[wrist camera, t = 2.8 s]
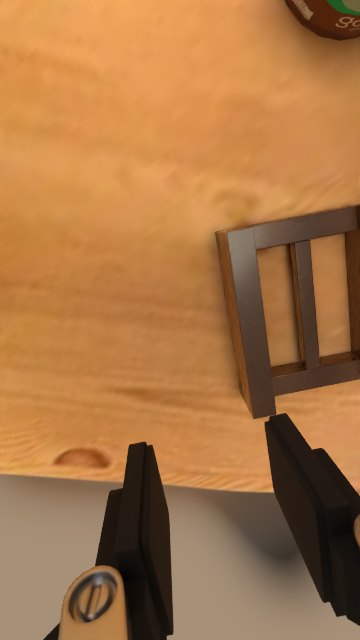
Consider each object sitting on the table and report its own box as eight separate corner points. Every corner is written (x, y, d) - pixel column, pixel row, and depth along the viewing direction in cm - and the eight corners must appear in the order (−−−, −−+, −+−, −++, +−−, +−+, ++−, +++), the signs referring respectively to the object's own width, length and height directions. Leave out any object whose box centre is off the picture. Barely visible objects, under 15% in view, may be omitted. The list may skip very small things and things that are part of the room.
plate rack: (239, 392, 30) (267, 447, 22) (215, 231, 26) (238, 232, 19) (372, 366, 30) (443, 411, 22) (365, 202, 26) (449, 191, 19)
